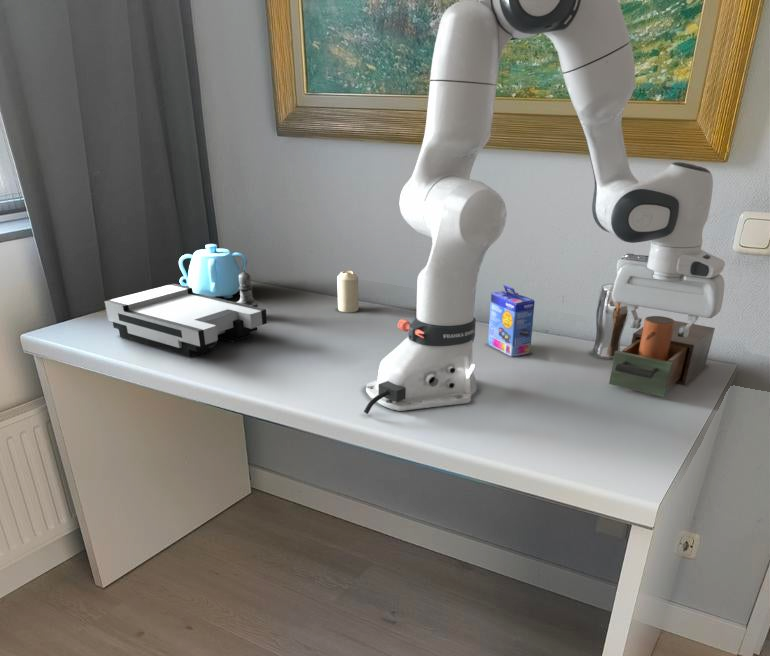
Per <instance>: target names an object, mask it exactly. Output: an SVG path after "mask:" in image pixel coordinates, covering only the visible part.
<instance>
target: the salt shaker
mask: <svg viewBox="0 0 770 656" xmlns="http://www.w3.org/2000/svg"><path fill="white" fill-rule="evenodd" d="M251 281H252V280H251V275H250V274H249V273H248V272H247V271H245V270H244V269H243V273H241V274H240V275H239V284H240V287H239V288H238V289H239V295H240V297H239V300H237V301H235V302H236V303H241V304H245V305H249V306H254V307H258V306H259V305H258V304H259V301H258V300H256V299H254V296H253V289H254V287H253V286H252V282H251ZM258 308H259V307H258Z"/></svg>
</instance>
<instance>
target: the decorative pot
mask: <svg viewBox="0 0 770 656" xmlns="http://www.w3.org/2000/svg"><path fill="white" fill-rule="evenodd" d="M235 257H236V258H237V257H238V258H241V259H242V262H243V263H242V268H241V269H240V267H239V264H238V262H237V261H236V258H235ZM186 259H190V263H189V266H188V271H186V269H185V266H184V263H183V262H184V260H186ZM178 266H179V270H180V271H181V273H182V275H183V276H181V277H180V278H179V283H180V284H179V285H183V286H187V287H192V290H193V293H197V294H201V295H206V296H210V297H214V298H216V297H223V298H224V299H231V298H234V296H233V295H235V294H237V293H238V292H240V289H238V288H239V287H240V284H239V275H240V274H241V273H243V269H244V270H245V272H247V267H248V259H247V257H246V256H245V254H243V253H241V252H233V253H231V251H230V250H229V249H227V248H218V244H216V243H208V244H205V248H204V249H203V248H202V249H197V250H195V251H194V252H193V254H190V253H186V254H184V255H182V256H181V257H180V258H179V260H178ZM184 280H185V282H184Z"/></svg>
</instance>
